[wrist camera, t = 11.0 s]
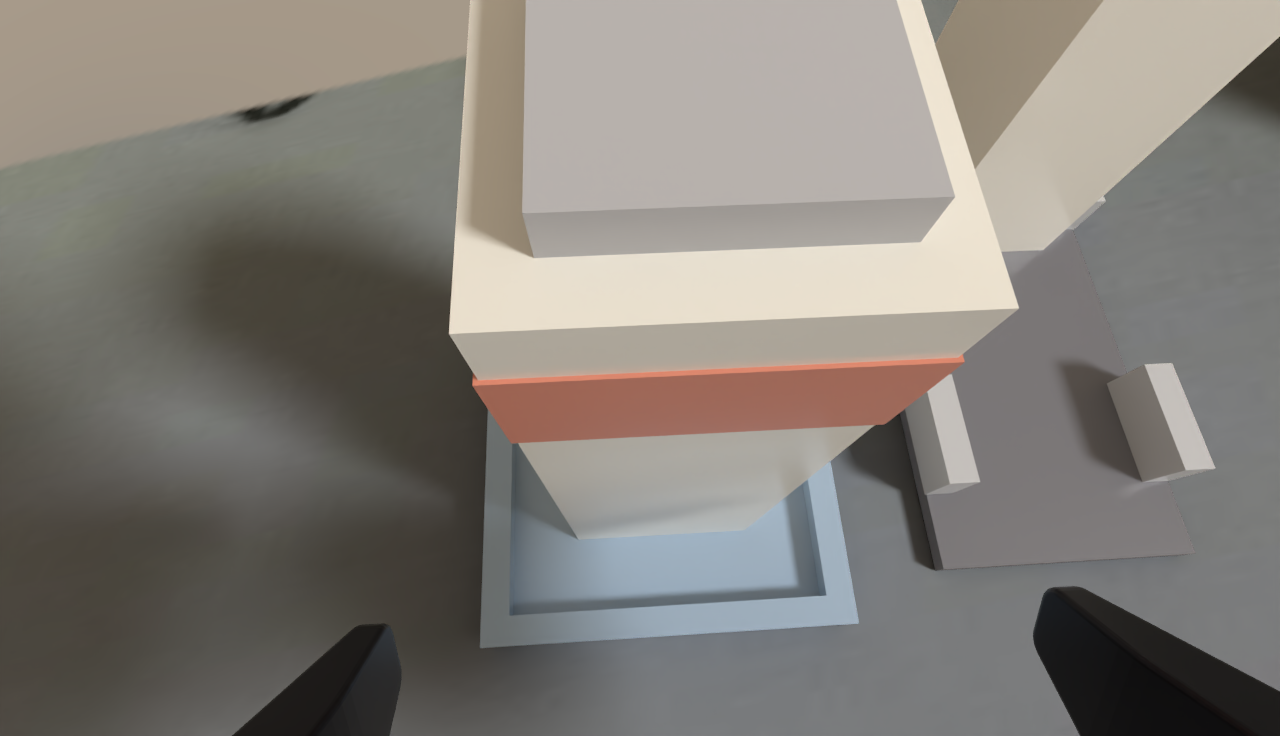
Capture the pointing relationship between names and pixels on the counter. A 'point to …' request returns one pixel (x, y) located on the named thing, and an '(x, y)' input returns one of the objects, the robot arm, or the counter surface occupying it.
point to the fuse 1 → (710, 245)
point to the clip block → (1052, 434)
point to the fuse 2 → (1083, 93)
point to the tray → (653, 567)
